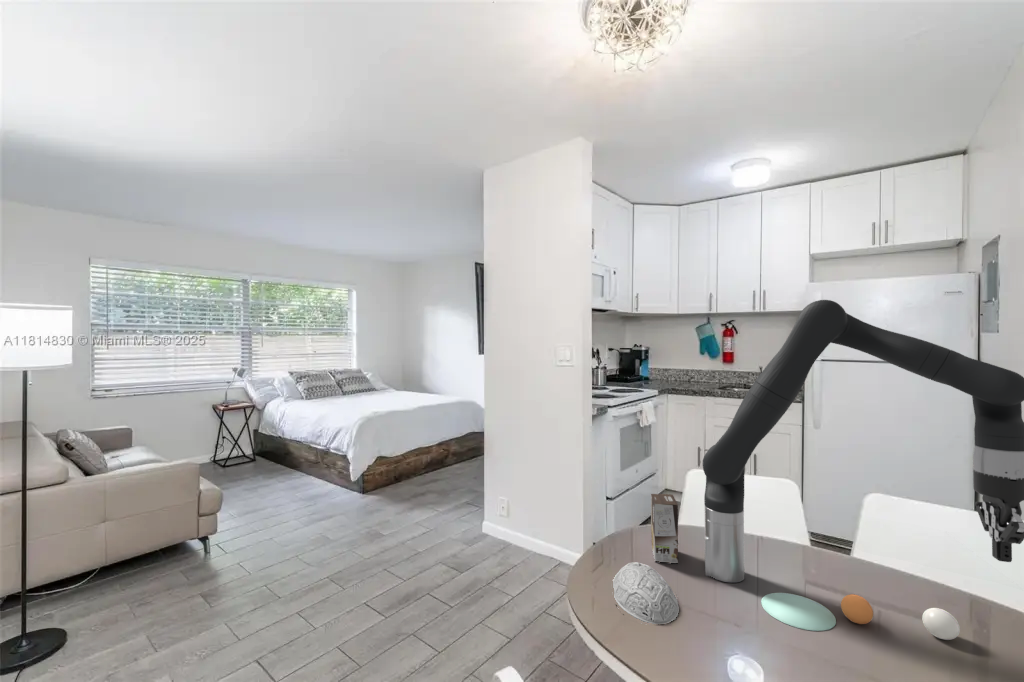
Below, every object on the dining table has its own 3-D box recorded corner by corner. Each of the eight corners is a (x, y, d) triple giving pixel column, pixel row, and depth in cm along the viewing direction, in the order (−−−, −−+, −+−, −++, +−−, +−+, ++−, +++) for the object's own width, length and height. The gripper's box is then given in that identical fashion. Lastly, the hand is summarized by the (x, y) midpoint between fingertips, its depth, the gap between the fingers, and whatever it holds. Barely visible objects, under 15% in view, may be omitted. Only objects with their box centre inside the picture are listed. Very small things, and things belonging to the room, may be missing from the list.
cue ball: (930, 642, 90) (929, 614, 90) (917, 626, 95) (917, 599, 95) (966, 649, 88) (965, 620, 88) (951, 632, 93) (950, 605, 93)
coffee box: (679, 564, 122) (678, 504, 122) (654, 562, 124) (653, 503, 124) (674, 549, 131) (673, 493, 131) (650, 547, 133) (650, 492, 133)
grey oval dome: (620, 625, 96) (622, 593, 96) (602, 572, 121) (604, 546, 121) (694, 635, 95) (697, 602, 95) (661, 579, 120) (663, 554, 120)
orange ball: (845, 626, 95) (845, 600, 95) (837, 612, 100) (837, 587, 100) (877, 632, 93) (877, 605, 93) (868, 617, 98) (867, 592, 98)
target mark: (766, 622, 97) (766, 621, 97) (757, 588, 110) (757, 588, 110) (844, 637, 92) (844, 636, 92) (825, 600, 105) (825, 599, 105)
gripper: (957, 460, 96) (958, 543, 96) (996, 478, 84) (997, 572, 84) (1004, 464, 93) (1005, 548, 93) (1051, 482, 81) (1053, 580, 81)
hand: (1002, 559), depth 88 cm, fingers closed
